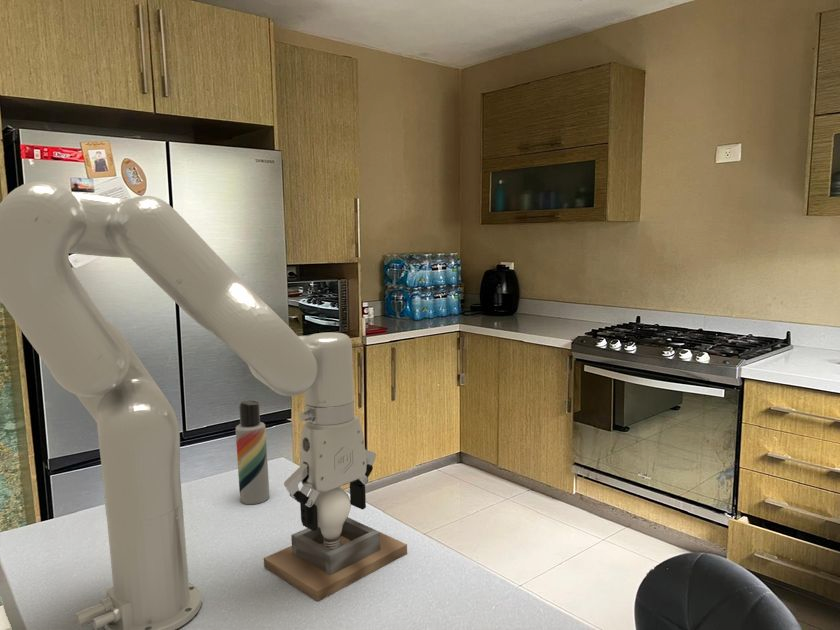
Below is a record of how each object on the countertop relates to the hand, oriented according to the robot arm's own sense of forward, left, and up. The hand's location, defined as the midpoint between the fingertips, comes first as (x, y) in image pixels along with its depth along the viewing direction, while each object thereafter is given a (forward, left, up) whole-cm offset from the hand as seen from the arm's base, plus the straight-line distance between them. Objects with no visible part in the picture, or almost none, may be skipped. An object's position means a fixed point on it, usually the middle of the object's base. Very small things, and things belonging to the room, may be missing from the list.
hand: (334, 516), depth 99 cm
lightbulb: (-1, 0, -6) cm, 6 cm away
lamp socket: (0, 0, -7) cm, 7 cm away
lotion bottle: (+4, +31, -7) cm, 32 cm away
